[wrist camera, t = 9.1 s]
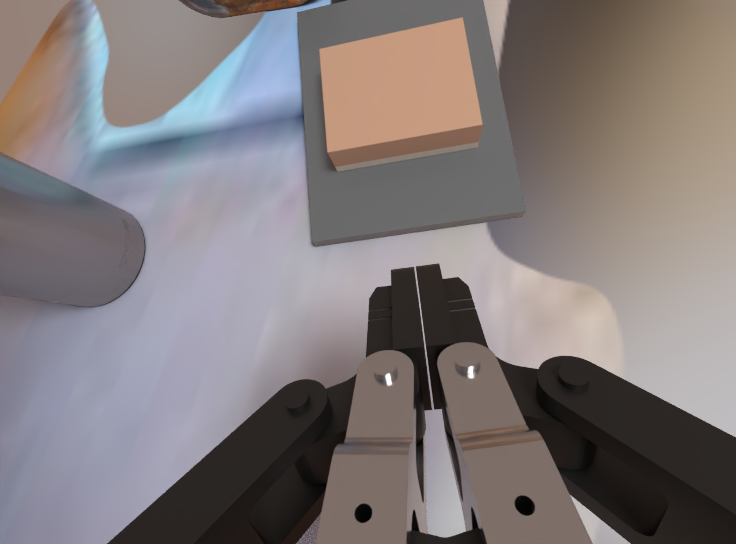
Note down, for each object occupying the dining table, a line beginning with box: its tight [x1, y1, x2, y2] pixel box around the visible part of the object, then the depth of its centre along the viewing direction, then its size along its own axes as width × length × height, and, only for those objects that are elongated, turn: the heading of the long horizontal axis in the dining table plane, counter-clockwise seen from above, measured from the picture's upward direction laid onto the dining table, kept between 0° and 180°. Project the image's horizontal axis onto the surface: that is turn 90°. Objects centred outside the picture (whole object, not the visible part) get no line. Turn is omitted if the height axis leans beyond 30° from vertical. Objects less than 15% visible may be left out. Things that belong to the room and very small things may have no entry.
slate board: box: [297, 0, 526, 246], centre depth 32 cm, size 16×22×1 cm
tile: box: [319, 17, 483, 172], centre depth 29 cm, size 11×3×9 cm
